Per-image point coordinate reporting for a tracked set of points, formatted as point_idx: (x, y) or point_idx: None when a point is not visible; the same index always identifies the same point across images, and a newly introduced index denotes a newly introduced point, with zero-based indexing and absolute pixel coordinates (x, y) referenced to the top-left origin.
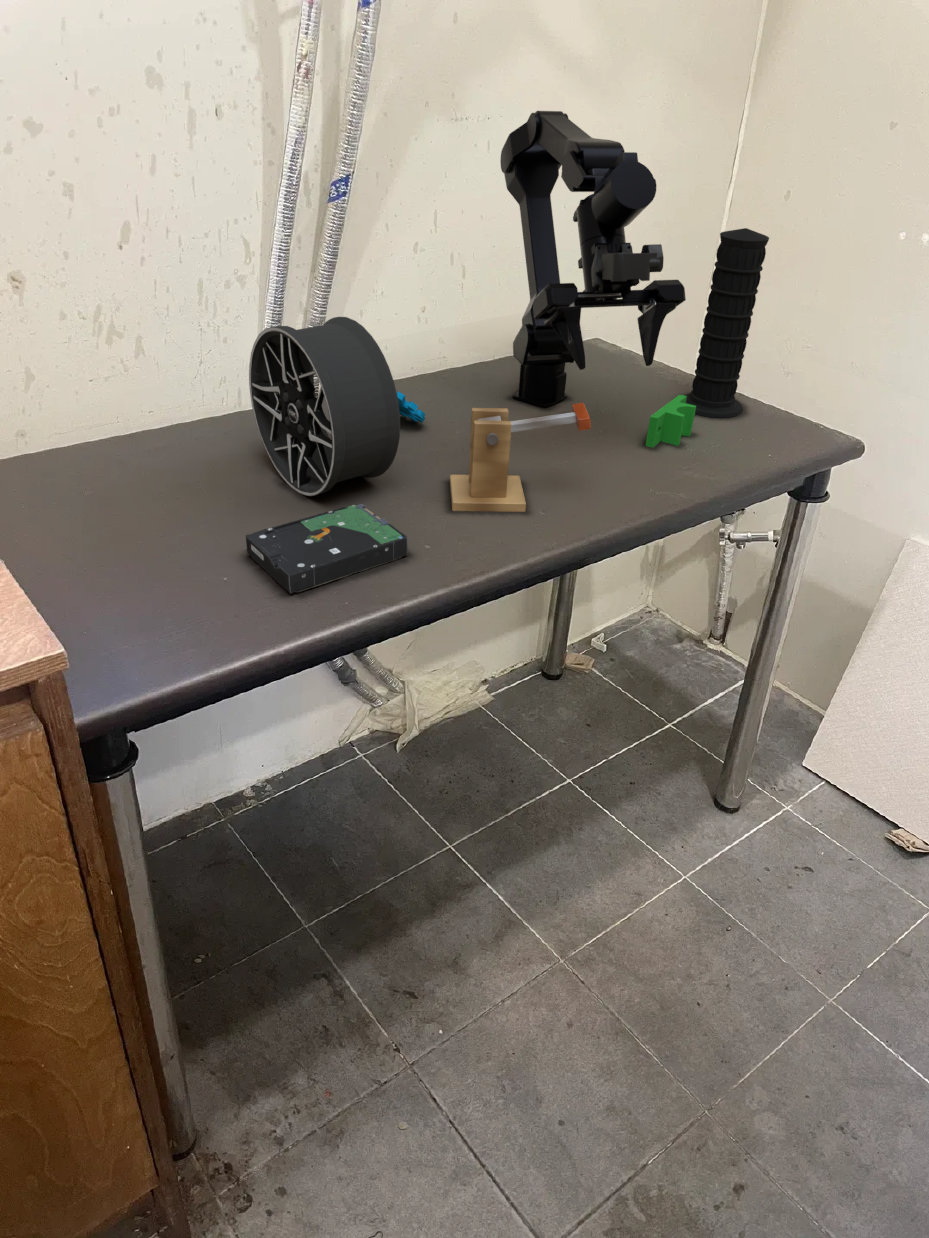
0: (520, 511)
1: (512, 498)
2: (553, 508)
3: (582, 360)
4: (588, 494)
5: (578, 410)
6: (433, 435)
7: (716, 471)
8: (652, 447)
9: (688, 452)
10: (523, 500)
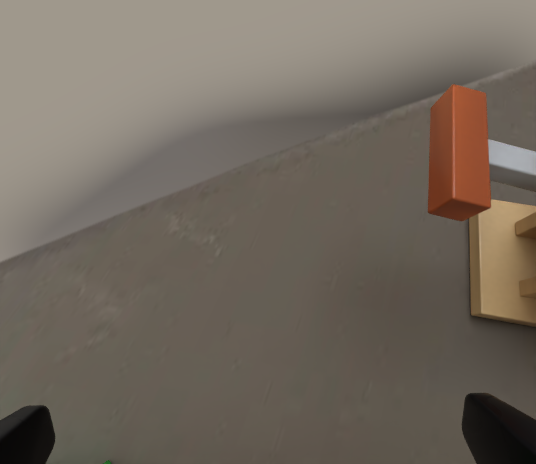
0: None
1: (502, 217)
2: (415, 211)
3: (517, 419)
4: (339, 252)
5: (478, 148)
6: None
7: (48, 309)
8: (108, 460)
9: None
10: None
